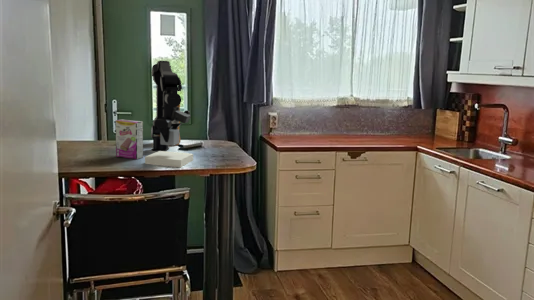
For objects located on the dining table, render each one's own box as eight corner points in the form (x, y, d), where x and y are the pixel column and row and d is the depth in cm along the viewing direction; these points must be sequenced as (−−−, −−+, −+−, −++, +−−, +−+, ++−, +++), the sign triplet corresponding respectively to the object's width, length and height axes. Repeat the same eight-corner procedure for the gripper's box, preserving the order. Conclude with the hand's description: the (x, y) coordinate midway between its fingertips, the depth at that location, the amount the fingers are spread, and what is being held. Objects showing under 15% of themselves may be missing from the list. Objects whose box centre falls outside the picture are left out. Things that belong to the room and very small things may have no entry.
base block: (145, 163, 196) (145, 156, 196) (159, 157, 210) (159, 150, 209) (180, 167, 193) (180, 160, 192) (193, 160, 206) (193, 153, 206)
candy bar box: (115, 157, 207) (114, 120, 203) (122, 155, 211) (121, 119, 208) (137, 159, 203) (136, 122, 200) (143, 157, 208) (143, 121, 205)
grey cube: (160, 144, 198) (160, 130, 196) (166, 142, 203) (166, 128, 202) (173, 145, 196) (173, 131, 195) (179, 143, 202) (179, 129, 201)
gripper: (179, 107, 186) (178, 146, 189) (196, 103, 204) (195, 138, 207) (153, 105, 188) (153, 144, 191) (172, 102, 206) (172, 137, 209)
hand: (169, 140), depth 200 cm, fingers closed on grey cube, 6 cm apart
